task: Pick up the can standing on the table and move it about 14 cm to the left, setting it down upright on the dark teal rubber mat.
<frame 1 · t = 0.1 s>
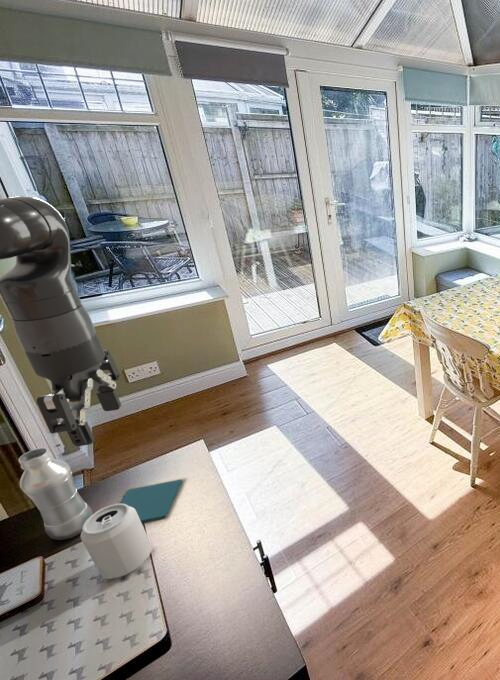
hand: (100, 425, 67), 32 cm above the table, tool pointing down, fingers open, 8 cm apart
plastic bottle: (75, 530, 84), on the table
can: (128, 562, 78), on the table
mat: (147, 504, 90), on the table
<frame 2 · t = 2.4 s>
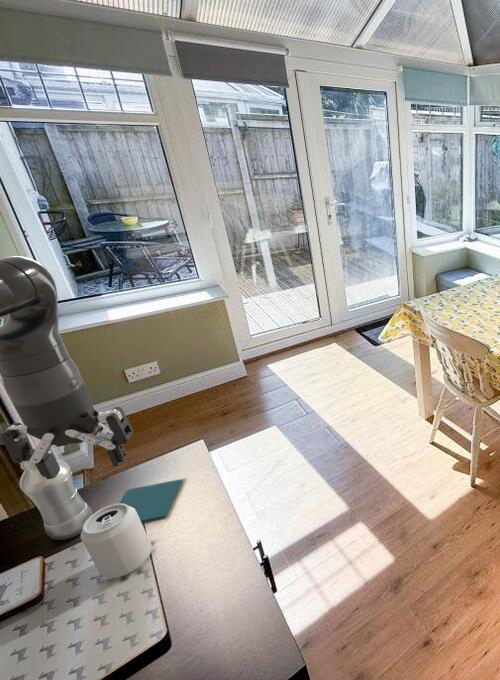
hand: (87, 468, 69), 24 cm above the table, tool pointing down, fingers open, 8 cm apart
nothing on the table moved.
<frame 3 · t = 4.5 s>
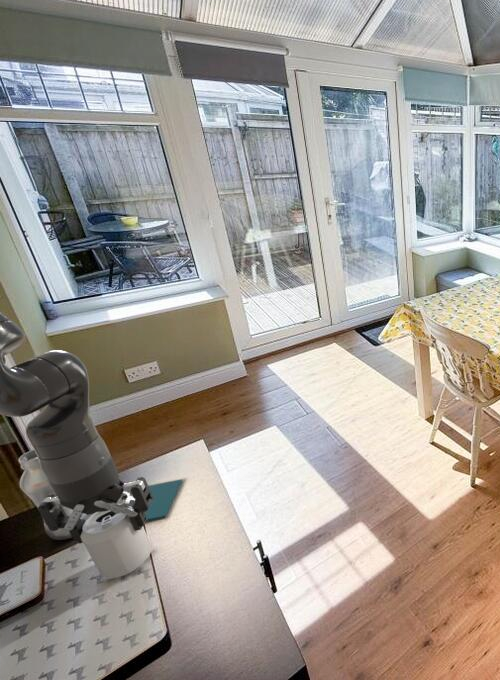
hand: (113, 532, 75), 8 cm above the table, tool pointing down, fingers closed on can, 7 cm apart
can: (128, 562, 78), on the table, touching gripper
everything else where it was.
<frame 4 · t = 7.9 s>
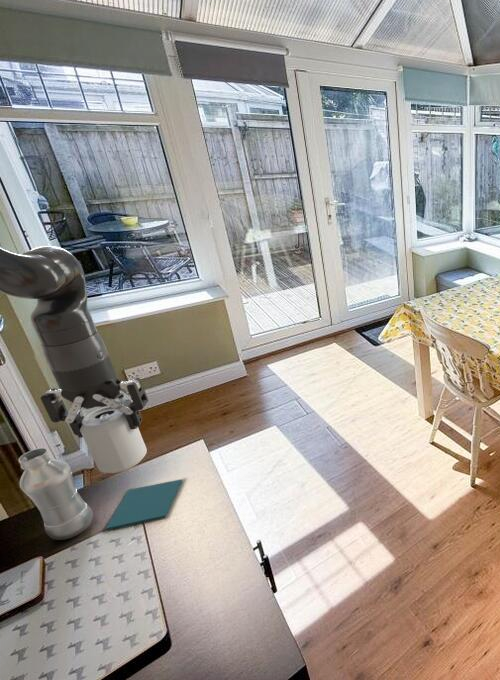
hand: (110, 430, 80), 21 cm above the table, tool pointing down, fingers closed on can, 7 cm apart
can: (124, 462, 83), point 13 cm above the table, touching gripper
everything else where it was.
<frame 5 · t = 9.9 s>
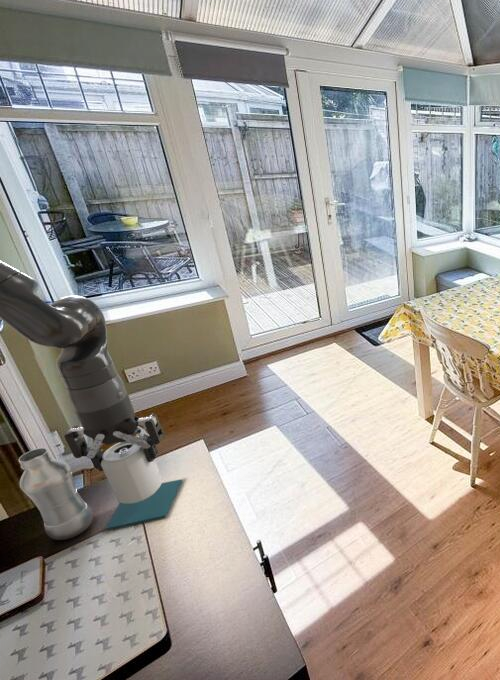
hand: (129, 463, 85), 12 cm above the table, tool pointing down, fingers closed on can, 7 cm apart
can: (141, 492, 88), point 3 cm above the table, touching gripper
everything else where it was.
when the fingers open (9 cm above the table, at t = 11.5 s): can stays where it is, resting on mat.
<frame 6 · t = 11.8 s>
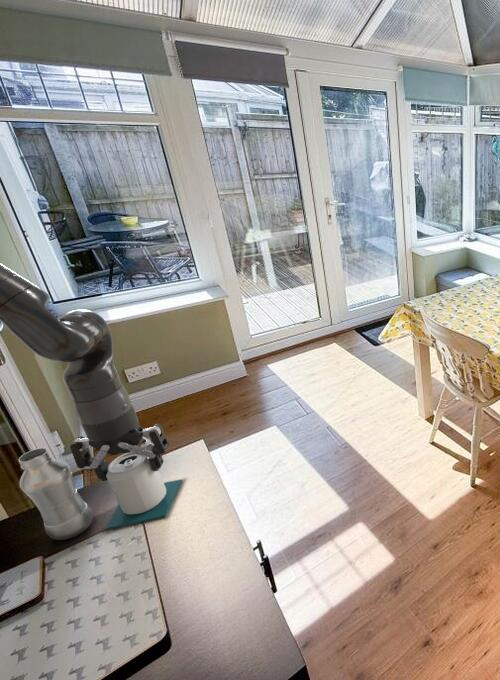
hand: (133, 472, 86), 9 cm above the table, tool pointing down, fingers open, 8 cm apart
can: (146, 502, 89), resting on mat
everything else where it was.
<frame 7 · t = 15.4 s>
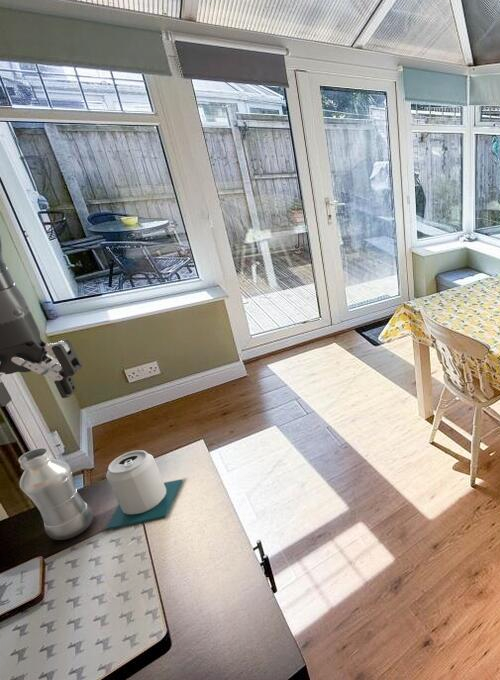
hand: (37, 399, 71), 32 cm above the table, tool pointing down, fingers open, 8 cm apart
nothing on the table moved.
at the end: can inside the target area on the mat (0.0 cm from its centre), point 0.4 cm above the mat's base; can tilted 0°; the gripper is holding nothing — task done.
